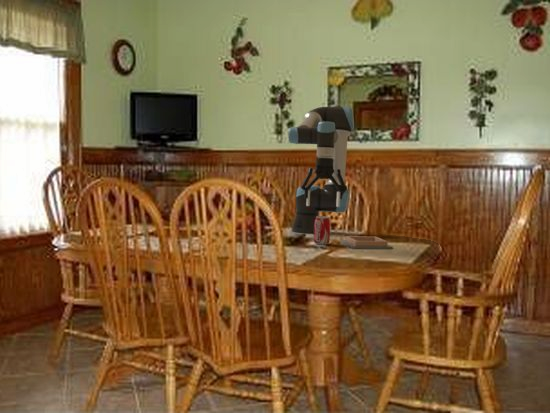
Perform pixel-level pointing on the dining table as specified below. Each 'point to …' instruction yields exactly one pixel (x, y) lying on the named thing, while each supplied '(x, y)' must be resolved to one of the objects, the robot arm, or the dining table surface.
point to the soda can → (322, 230)
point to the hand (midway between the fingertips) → (322, 206)
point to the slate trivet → (365, 242)
